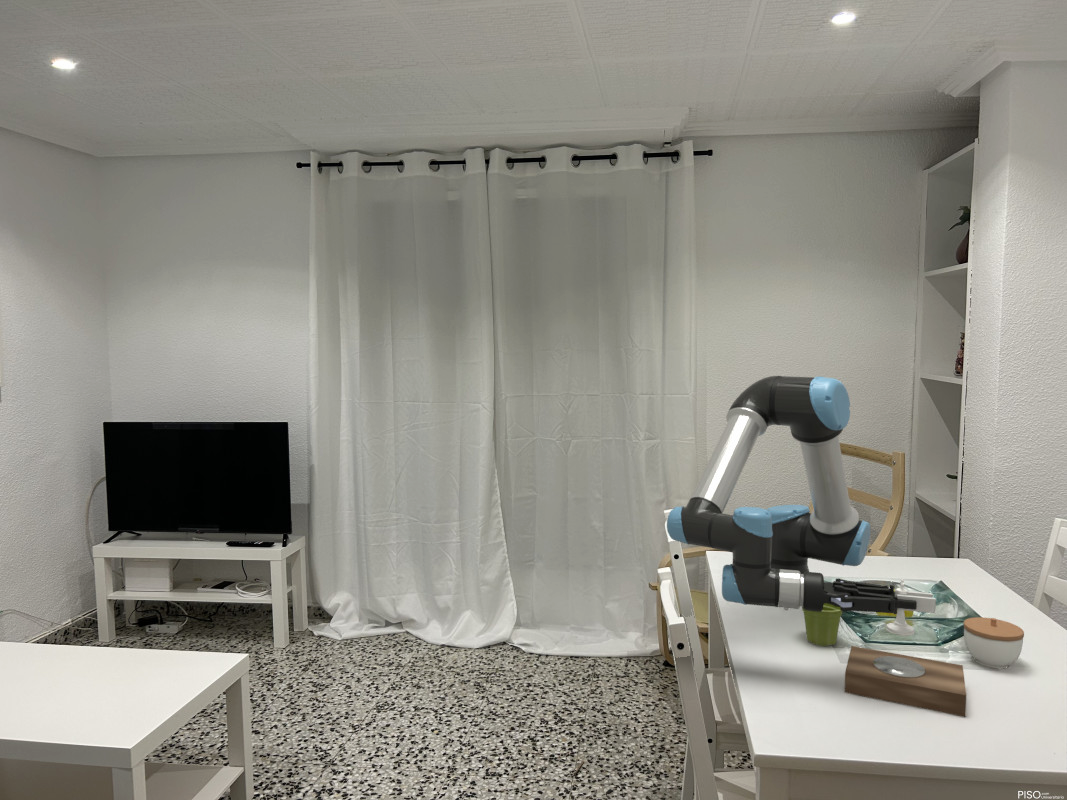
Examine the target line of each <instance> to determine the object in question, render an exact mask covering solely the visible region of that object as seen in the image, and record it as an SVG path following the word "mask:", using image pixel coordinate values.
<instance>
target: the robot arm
mask: <svg viewBox="0 0 1067 800" xmlns="http://www.w3.org/2000/svg"><path fill="white" fill-rule="evenodd" d="M850 407H851V401H850V396H849V393H848V390H847V388H846V387H845V385H844V384H843V382H841V381H840V380H839V379H836V378H832V377H825V376H815V377H811V376H810V377H808V376H789V375H788V376H785V375H784V376H782V375H773V376H766V377H764V378H761V379H759V380H756V381H755V382H754V383H752V384H750V385H749V386H748V387H747V388H745V390H743V391H742V392H741V393H740V394H739V395H738V397H736V399H735V400H734V401H733V402H732V404H731V406H730V408H729V409H728V412H727V414H726V422H727V423H726V425H725V427H724V429H723V432H722V434H721V436H720V437H719V440H718V442H717V444H716V446H715V448H714V450H713V452H712V454H711V456H710V458H709V460H708V462H707V464H706V466H705V468H704V470H703V471H702V473H701V474H702V475H701V477H700V478H699V480H698V482H697V484H696V487H695V489H694V491H693V493H692V495H691V497H690V498H689V499H688V502H687V504H686V506H675V507H673V509H671V510H670V512H669V513H668V516H667V520H666V530H667V533H668V534H667V535H669V537H670V538H671V539H672V540H673V541H676V542H680V543H683V544H686V545H693V546H699V547H705V548H710V549H714V550H717V551H718V550H719V551H724V552H729V553H732V563H730V564H724V565H723V567H722V575H721V576H722V578H721V595H722V598H723V599H724V601H727V602H728V603H729V602H730V603H736V604H742V605H751V606H762V607H774V608H783V610H784V611H789V609H790V610H791V609H792V610H799V609H800V608H802V607H803V609H805V610H808V611H817V612H821V611H822V610H823V604H824V603H827V604H831V605H834V606H836V607H840V610H841V611H842V612H864V613H865V612H868V613H869V612H870V613H883V614H884V613H887V614H893V615H897V611H898V610H904V611H908V612H916V613H917V612H918V613H928V614H936V608H937V607H936V603H937V599H936V597H934V595H933V592H922V591H921V592H920V591H910V590H907V591H908V592H907V594H906V595H898V594H897V592H896V589H895V586H894V585H893V584H889V586H888V585H886V584H885V585H884V584H876V583H871V582H870V583H868V582H861V581H852V580H846V579H842V578H835V580H834V581H833V582H832V581H831V582H830V581H828V582H825V579H824V575H823V573H821V572H812V571H810V569H809V565H808V562H809V561H808V559H812V560H816V561H822V562H826V563H831V564H834V565H835V564H836V565H841V566H849V567H857V566H860V565H862V562H863V561H864V560H865V557H866V554H867V553H868V549H869V543H870V538H871V525H870V523H869V522H868V521H866V520H864V519H862V520H860V514H859V513H858V510H857V509H856V508H854V507H853V506H852V505H851V500H850V495H849V490H848V484H847V478H846V473H845V467H844V463H843V457H842V450H841V445H840V444H841V443H840V439H839V436H840V435H841V434H842V433H843V431H844V429H845V428H846V427H847V426H848V424H849V421H850V417H851V410H850ZM771 426H785V427H789V428H790V432H791V433H790V434H791V437H792V438H793V439H794V440H795V441H797V442H798V443H800V448H801V453H802V457H803V462H804V463H803V464H804V466H805V467H804V469H805V472H806V477H807V482H808V487H809V493H810V496H811V502H812V507H813V510H812V512H811V510H810V507H809V506H807V505H803V504H783V505H774V506H771V507H770V506H769V507H768V508H766V509H765V508H762V507H757V506H755V507H754V506H741V507H737V508H735V509H734V511H733V514H727V513H724V511H725V509H726V506H727V504H728V503H729V501H730V498H731V495H732V493H733V491H734V489H735V487H736V485H737V483H738V481H739V478H740V476H741V474H742V472H743V469H744V468H745V466H746V464H747V461H748V459H749V457H750V454H751V452H752V450H753V448H754V446H755V444H756V441H758V438H759V437H761V436H762V435H765V432H766V431H767V428H768V427H771ZM810 512H811V513H810Z"/></svg>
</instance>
